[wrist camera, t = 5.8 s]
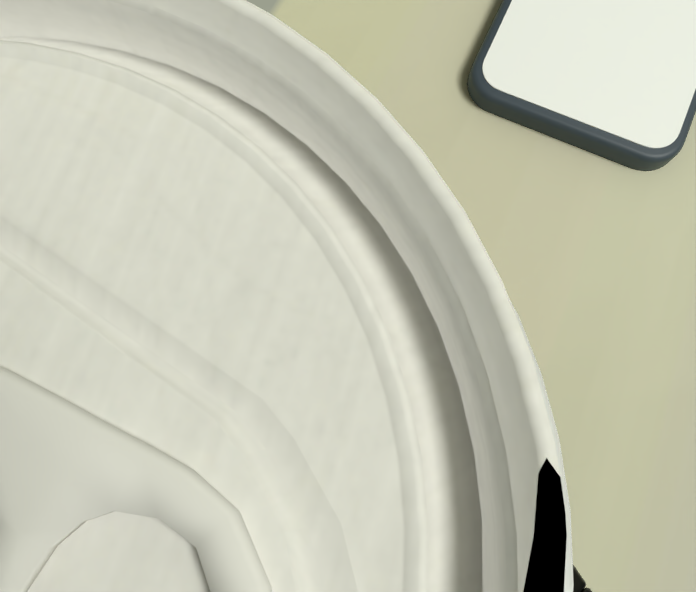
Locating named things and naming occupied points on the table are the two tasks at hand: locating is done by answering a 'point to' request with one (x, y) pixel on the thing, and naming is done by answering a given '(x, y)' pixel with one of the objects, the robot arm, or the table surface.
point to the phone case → (594, 74)
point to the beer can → (248, 326)
